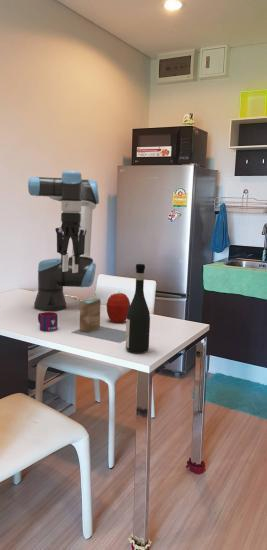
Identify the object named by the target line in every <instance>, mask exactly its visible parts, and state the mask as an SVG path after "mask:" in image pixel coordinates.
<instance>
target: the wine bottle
mask: <svg viewBox="0 0 267 550" xmlns="http://www.w3.org/2000/svg"><path fill="white" fill-rule="evenodd" d="M145 269H146V265H145V264H144V263H137V264H135V292H134V294H133V298H132V299H131V301H130V307H129V309H128V313H127V319H126V320H125V322H126V324H125V326H126V328H125V331H126V340H125V349H126V351H128V352H130V353H132V354H143V353H146V352H147V351H148V350H149V348H150V331H151V330H150V329H151V327H150V326H151V315H150V310H149V307H148V304H147V300H146V297H145V294H144V293H145V291H144V288H145V287H144V282H145Z"/></svg>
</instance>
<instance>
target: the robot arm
mask: <svg viewBox="0 0 267 550" xmlns="http://www.w3.org/2000/svg"><path fill="white" fill-rule="evenodd" d="M27 188H28V193H29V195H30V196H33V197H34V196H35V197H47V198H49V199H51V200H53V201H57V202H61V204H60V205H61V207H60V208H61V211H62V212H61V216H60V219H61V220H60V221H61V226H60V227H56V228H55V232H56V253H57V254H60V258H59V257H58V258H50V259H44V260H40V261H39V263H38V267H37V274H38V275H37V288H38V290H37V294H36V297H35V301H34V305H33V307H34V309H35V310H38V311H42V312H55V311H61V310H62V311H63V310H65V309H67V300H66V297H65V295H64V294H65V293H64V287H70V288H71V287H72V288H73V287H74V288H90V287H92V285H93V284H94V280H95V275H96V268H97V263H96V262H94V258H92V257H91V247H92V246H91V245H92V229H93V228H92V227H93V225H92V224H93V211H94V210H95V209H96V208H97V205H98V204H100V199H99V197H100V196H99V189H98V188H99V186H98V182H97V181H96V180H93V179H83V178H82V173H81V172H79V171H76V170H75V171H73V170H64V171H62V173H61V177H46V176H45V177H43V176H31V177H29V179H28V182H27ZM70 239H71V242H72V250H71V255H70V256H69V254H68V249H69V245H70V243H69V242H70Z"/></svg>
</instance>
